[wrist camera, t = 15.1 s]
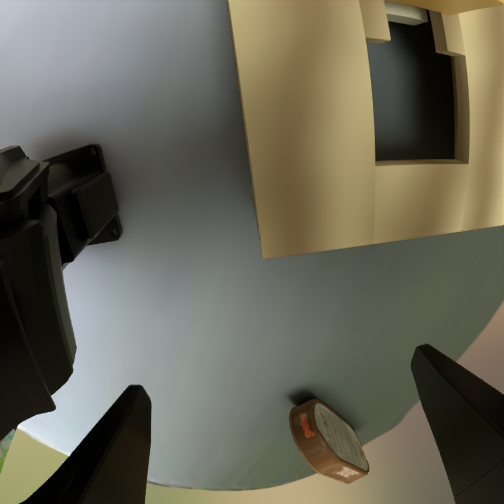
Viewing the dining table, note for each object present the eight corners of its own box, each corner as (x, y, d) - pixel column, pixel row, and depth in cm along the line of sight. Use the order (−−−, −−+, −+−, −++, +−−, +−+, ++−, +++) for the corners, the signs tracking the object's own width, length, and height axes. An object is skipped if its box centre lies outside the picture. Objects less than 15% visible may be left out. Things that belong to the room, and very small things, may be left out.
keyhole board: (255, 212, 19) (263, 259, 13) (212, -91, 9) (206, -141, 3) (462, 192, 19) (514, 223, 13) (429, -66, 8) (472, -89, 3)
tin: (282, 395, 28) (293, 468, 20) (309, 382, 27) (326, 457, 20) (340, 437, 34) (353, 489, 26) (361, 427, 33) (376, 480, 26)
